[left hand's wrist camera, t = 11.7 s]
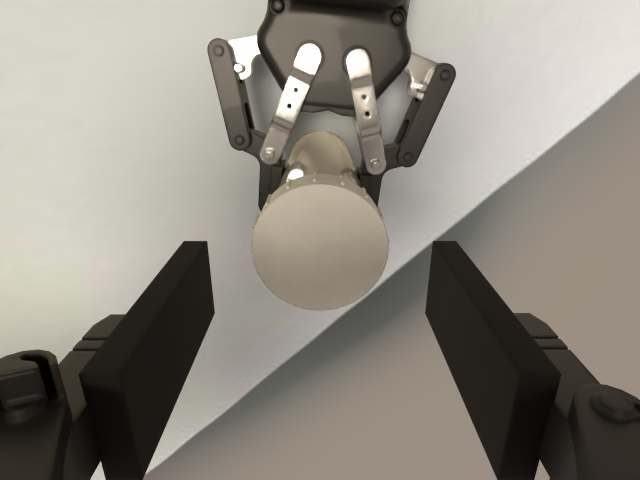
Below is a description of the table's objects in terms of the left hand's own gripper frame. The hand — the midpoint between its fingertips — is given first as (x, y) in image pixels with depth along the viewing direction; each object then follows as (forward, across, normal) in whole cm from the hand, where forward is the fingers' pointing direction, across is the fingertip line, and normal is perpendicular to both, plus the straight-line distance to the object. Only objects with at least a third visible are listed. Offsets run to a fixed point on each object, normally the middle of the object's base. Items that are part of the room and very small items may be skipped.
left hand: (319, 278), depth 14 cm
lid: (+3, 0, 0) cm, 3 cm away
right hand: (+13, 0, -3) cm, 13 cm away
